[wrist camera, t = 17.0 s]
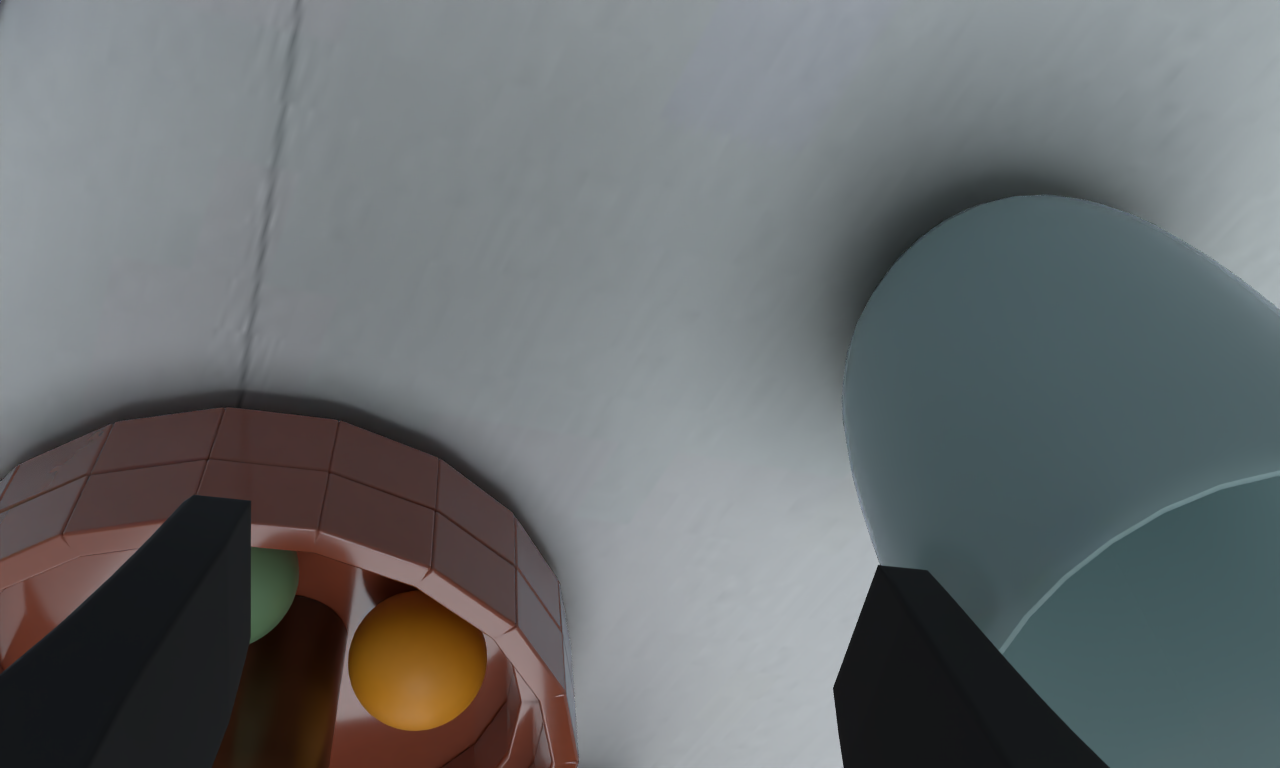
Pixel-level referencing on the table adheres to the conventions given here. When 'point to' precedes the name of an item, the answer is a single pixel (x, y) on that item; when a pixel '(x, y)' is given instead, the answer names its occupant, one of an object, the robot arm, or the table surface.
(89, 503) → the bowl
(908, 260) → the cup
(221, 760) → the stick
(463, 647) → the amber bead
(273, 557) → the sage bead
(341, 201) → the table surface
